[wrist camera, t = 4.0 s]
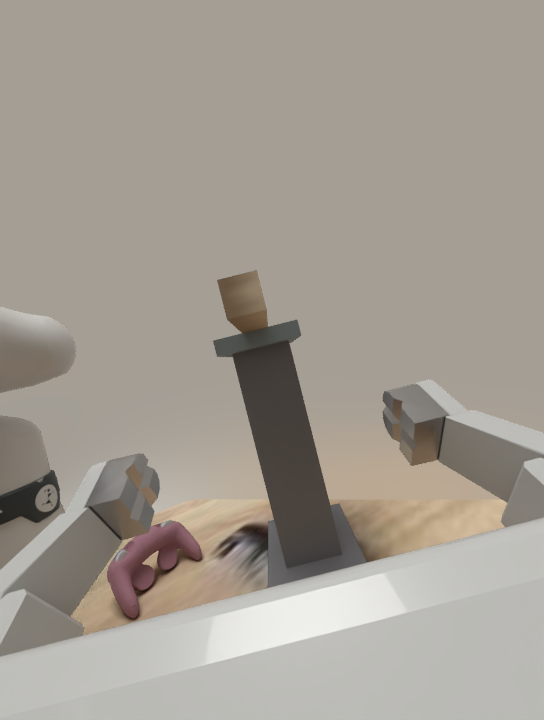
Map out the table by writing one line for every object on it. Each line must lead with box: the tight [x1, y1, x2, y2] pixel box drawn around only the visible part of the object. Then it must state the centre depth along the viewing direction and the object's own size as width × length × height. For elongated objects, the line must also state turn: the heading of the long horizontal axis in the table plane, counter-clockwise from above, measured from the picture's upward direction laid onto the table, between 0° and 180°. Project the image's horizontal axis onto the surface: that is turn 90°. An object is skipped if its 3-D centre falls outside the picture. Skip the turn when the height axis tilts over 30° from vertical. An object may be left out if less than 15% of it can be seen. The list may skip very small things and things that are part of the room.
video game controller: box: [107, 520, 202, 618], centre depth 34 cm, size 10×5×7 cm, turn 142°
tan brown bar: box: [217, 270, 268, 333], centre depth 27 cm, size 2×22×2 cm, turn 1°
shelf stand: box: [213, 320, 367, 588], centre depth 31 cm, size 10×12×26 cm
